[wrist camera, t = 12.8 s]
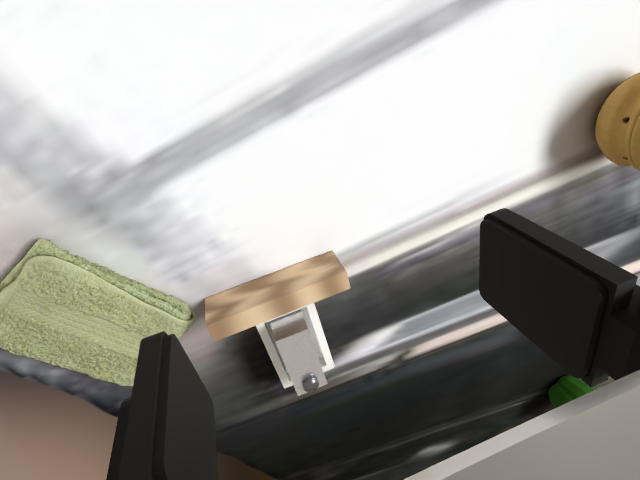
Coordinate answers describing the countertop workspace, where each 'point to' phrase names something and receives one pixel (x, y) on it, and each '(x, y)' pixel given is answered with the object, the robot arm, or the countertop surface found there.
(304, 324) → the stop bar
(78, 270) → the washcloth
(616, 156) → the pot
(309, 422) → the countertop surface
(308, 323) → the bracket
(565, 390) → the bell pepper
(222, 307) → the rail
